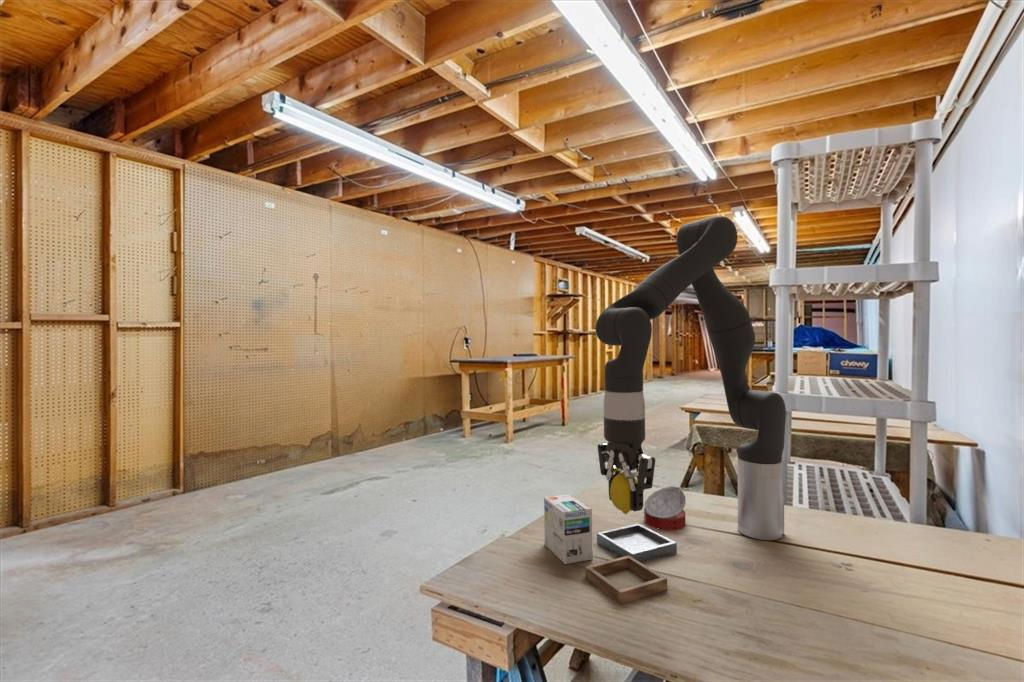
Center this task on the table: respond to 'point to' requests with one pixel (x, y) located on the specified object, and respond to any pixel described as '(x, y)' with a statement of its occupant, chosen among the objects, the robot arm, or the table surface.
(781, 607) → the table surface
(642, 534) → the tray
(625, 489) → the lemon
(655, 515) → the canned food
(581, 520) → the light bulb box
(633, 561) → the holder
